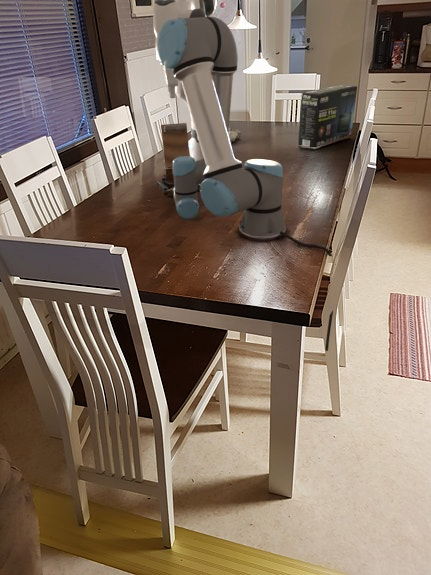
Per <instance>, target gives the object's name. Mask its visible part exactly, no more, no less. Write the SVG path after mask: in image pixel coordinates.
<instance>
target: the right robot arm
mask: <svg viewBox="0 0 431 575" xmlns="http://www.w3.org/2000/svg"><path fill="white" fill-rule="evenodd" d="M158 53H159V58H160V61H161V62H160V61H159V62H160V63H162V64H163V65H164V66H165V67H166V68H168V69H172V71H173V74H174V77H175V79H177V80H179V81H180V82H181V83H182V85H183V89H184V92H185V96H186V99H187V102H188V106H189V109H190V111H189V114H190V113H191V116H192V119H193V123H194V126H195V130H196V133H197V137H198V140H199V143H200V147H201V150H202V154H203V157H204V159H201V160H197V161H195V159H194V158H193V157H190V156H184V157H178V158H175V159H174V161H173V177H174V183H171V182H168V181H167V178H166V174H164V173H163V178H161V180H157V188H158V190H160V191H161V192H162V193H163V196H168V194H169V193H172V194H173V196H172V197H173V200H174V204H175V209H176V212H177V215H178V216H179V217H180V218H181V219H183V220H187V221H189V220H193V219H195V218H196V217H197V216H198V215H199V213H200V203H199V199H198V193H200V198H201V200H202V203H203V205H204V206H205V208H206V209H207V210H208V212H210V213H211V214H212V215H214V216H216V217H219V218H223V217H227V216H233V215H235V214H237V213H240V212H242V211H243V213H242V216H241V220H240V221H239V223H238V225H239V226H238V232H239V235H240V236H241V237H242V238H244V239H247V240H250V241H254V242H271V241H277V240H279V239H281V238H283V237H285V238H286V239H288V240H290V241H292V242H293V243H295V244H297V245H298V246H299V245H300V246H301V247H307V248H316V249H320V250H323V251H324V252H325V253H326V254H327V256H329V257H333V254H332V252H331V251H330V250H329V249H328V248H327V247H326V246H323V245H318V244H314V243H304V242H302V241H300V240H298V239H296V238H294V237H293V236H291V235H289V234H288V233H287V223H286V221H285V216H284V214H283V210H282V200H283V183H284V174H283V173H284V172H283V171H284V169H283V166H282V164H281V163H280V162H278V161H274V160H270V159H261V158H252V159H247V160H246V161H245V162H244V165H243V162H242V161H241V160H239V159H236V158H235V157H236V156H235V154H234V150H233V147H232V143H230V139H229V136H228V132H229V128H230V120H231V118H230V117H231V109H232V108H231V107H232V94H233V80H234V74H235V73H236V72H237V71H238V62H239V61H238V60H239V56H238V47H237V42H236V38H235V36H234V34H233V32H232V30H231V28H230V26H228V24H227V23H226V22H224V20H222V19H220V18H218V17H216V16H210V17H201V18H178V19H171V20H168V21H166V22H165V23H164V25H163V26H162V28H161V30H160V33H159V38H158ZM163 65H162V66H163ZM189 109H188V110H189ZM191 116H190V117H191ZM333 315H334V310H332V311H331V313H330V314H329V315H328V316H329V317H328V324H327V331H326V340H325V352H328V351H329V345H330V337H331V329H332V321H333V317H334V316H333Z"/></svg>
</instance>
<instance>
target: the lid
mask: <svg viewBox="0 0 431 575" xmlns="http://www.w3.org/2000/svg"><path fill="white" fill-rule="evenodd" d="M160 132H161V140H162V150H163V159H164V160H165V168H169V167H173V161H174V159H175V158H178V157H184V156H190V152H189V134H188V126H187V122H180V123H168V124H167V123H166V124H160Z"/></svg>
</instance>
